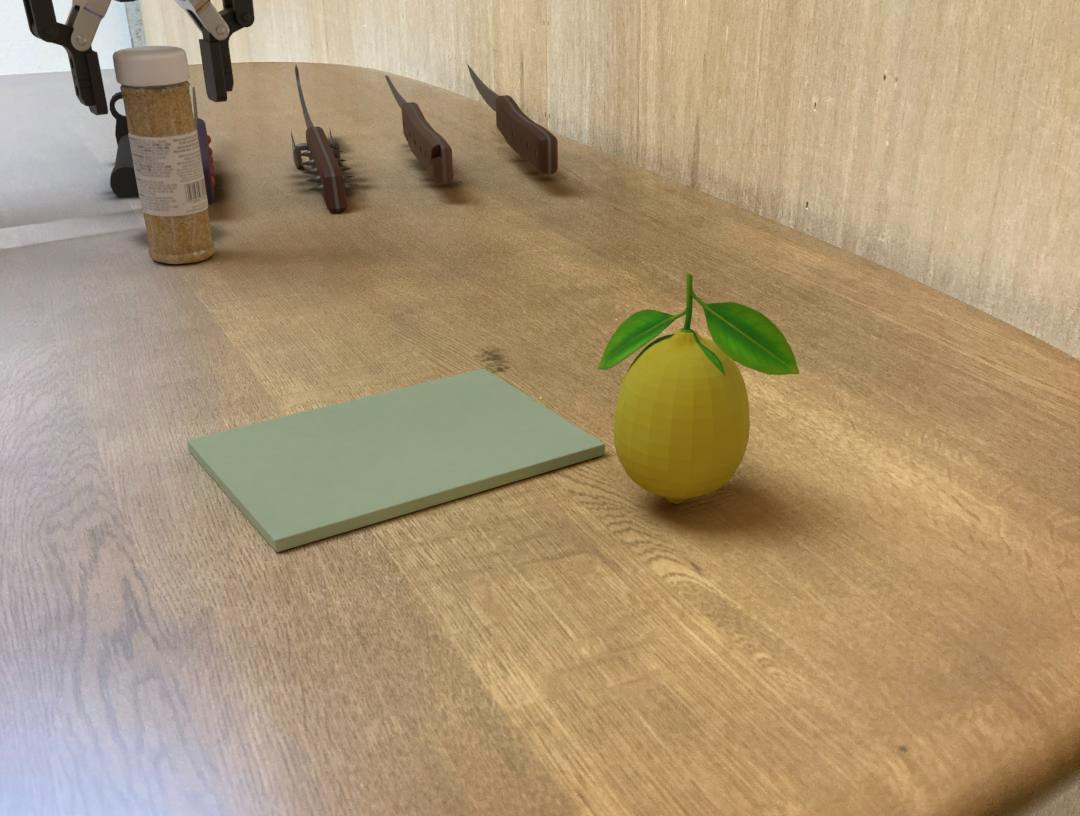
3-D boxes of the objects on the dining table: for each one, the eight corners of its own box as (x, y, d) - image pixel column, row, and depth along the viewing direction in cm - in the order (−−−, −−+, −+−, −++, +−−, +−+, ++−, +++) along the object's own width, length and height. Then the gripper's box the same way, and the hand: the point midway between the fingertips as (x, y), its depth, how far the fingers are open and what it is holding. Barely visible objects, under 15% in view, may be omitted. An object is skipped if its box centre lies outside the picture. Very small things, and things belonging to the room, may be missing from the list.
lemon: (781, 528, 47) (809, 290, 42) (650, 553, 45) (663, 309, 40) (706, 459, 52) (723, 242, 47) (587, 479, 50) (591, 256, 45)
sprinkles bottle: (187, 243, 82) (154, 42, 75) (230, 254, 80) (200, 47, 73) (135, 259, 79) (96, 50, 72) (178, 270, 77) (142, 55, 70)
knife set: (476, 111, 120) (473, 31, 116) (561, 202, 94) (561, 104, 89) (131, 137, 113) (114, 54, 109) (117, 245, 86) (94, 140, 82)
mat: (276, 553, 45) (274, 540, 45) (188, 450, 53) (186, 439, 53) (605, 455, 53) (605, 443, 52) (484, 378, 61) (484, 367, 60)
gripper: (208, -188, 72) (244, 88, 81) (-35, -192, 66) (32, 109, 74) (251, -193, 67) (284, 104, 75) (-10, -198, 60) (59, 128, 68)
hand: (159, 106), depth 75 cm, fingers open, 7 cm apart
